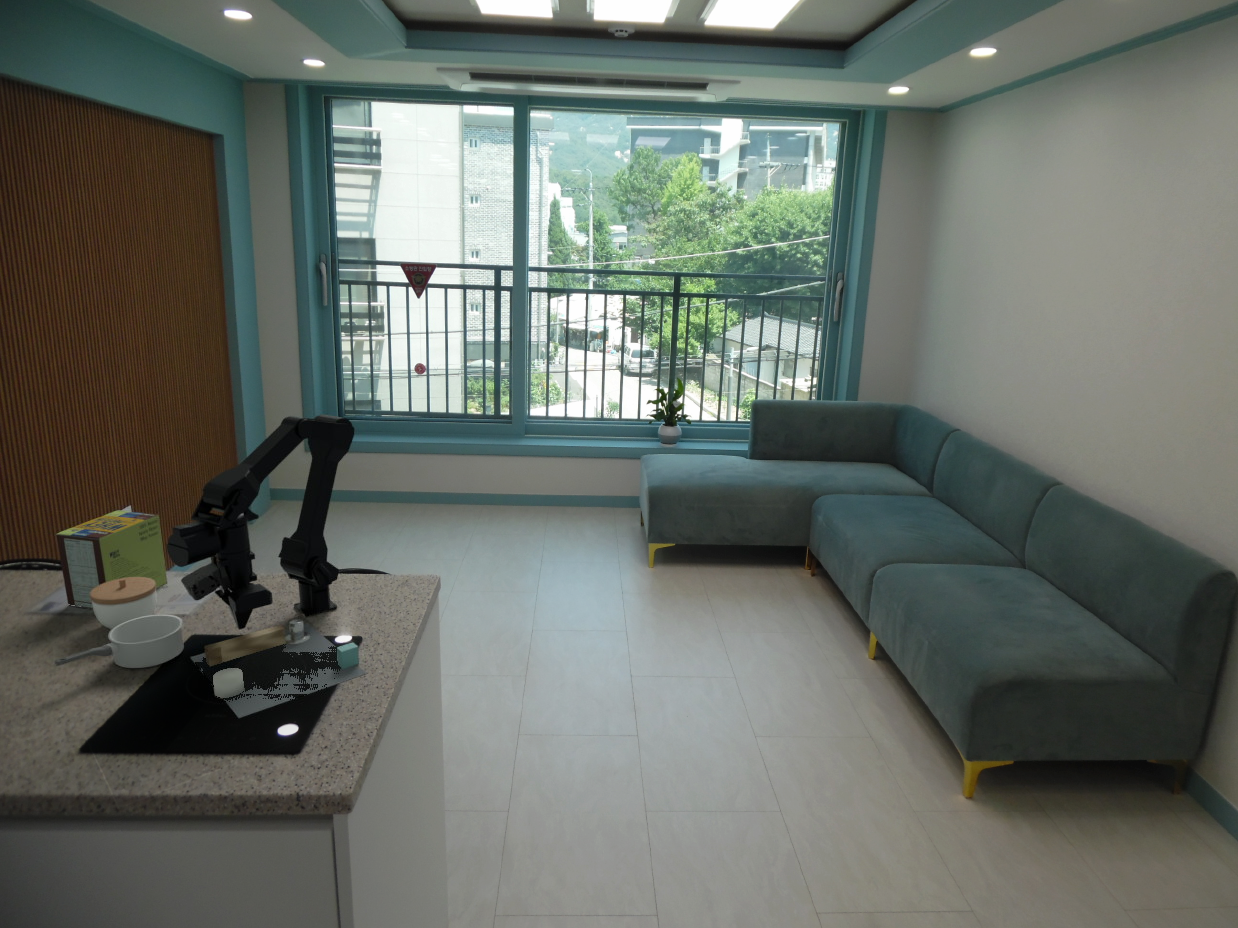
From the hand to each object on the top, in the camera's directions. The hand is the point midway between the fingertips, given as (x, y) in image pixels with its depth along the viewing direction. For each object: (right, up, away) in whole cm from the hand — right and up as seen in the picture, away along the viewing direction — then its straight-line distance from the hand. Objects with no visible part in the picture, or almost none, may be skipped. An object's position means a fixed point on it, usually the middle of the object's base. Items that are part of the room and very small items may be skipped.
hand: (241, 628), depth 149 cm
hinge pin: (+10, -2, +2) cm, 10 cm away
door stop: (+5, -7, -16) cm, 18 cm away
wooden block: (+3, -4, -4) cm, 6 cm away
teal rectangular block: (+22, -5, -7) cm, 23 cm away
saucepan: (-16, -5, -9) cm, 19 cm away
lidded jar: (-24, -1, +6) cm, 25 cm away
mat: (+10, -5, -8) cm, 13 cm away
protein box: (-34, +3, +19) cm, 40 cm away
